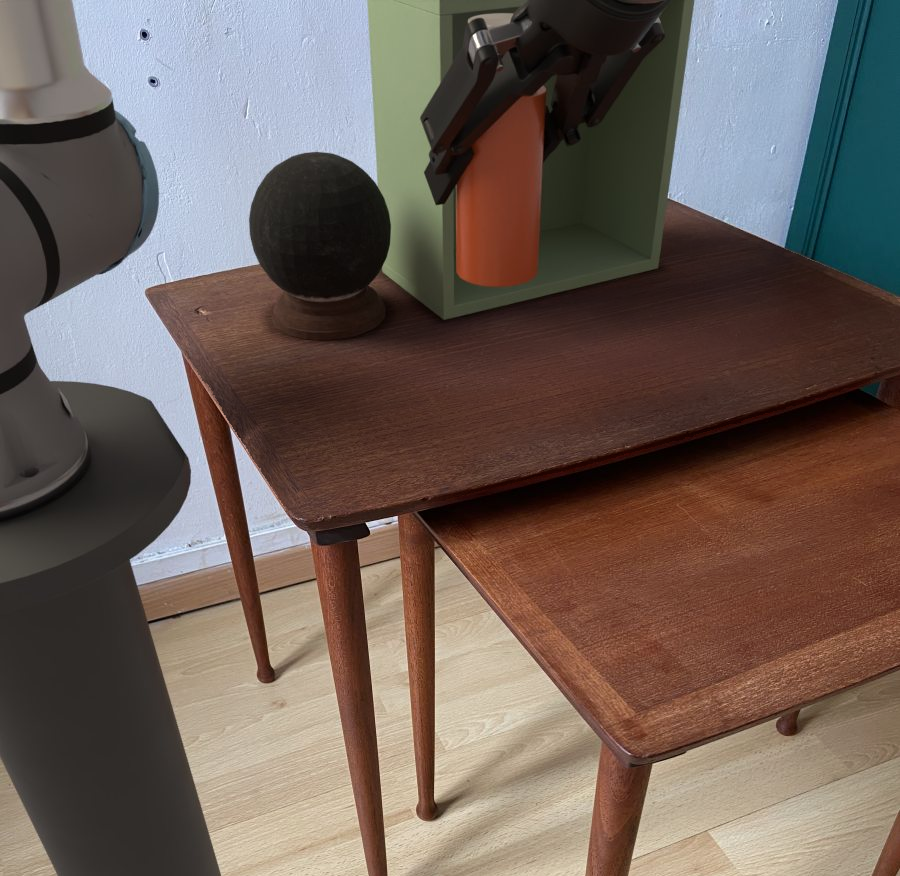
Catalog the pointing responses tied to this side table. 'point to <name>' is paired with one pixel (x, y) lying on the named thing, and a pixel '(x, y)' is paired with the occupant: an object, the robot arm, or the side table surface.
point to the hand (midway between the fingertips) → (475, 180)
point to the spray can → (502, 194)
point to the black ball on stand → (321, 245)
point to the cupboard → (564, 171)
